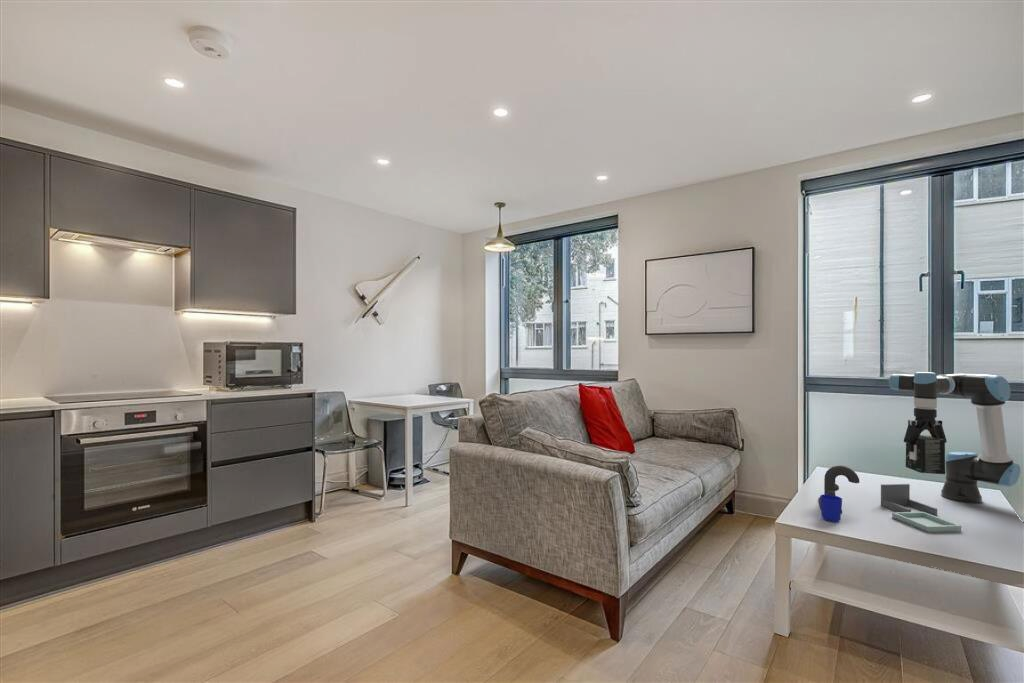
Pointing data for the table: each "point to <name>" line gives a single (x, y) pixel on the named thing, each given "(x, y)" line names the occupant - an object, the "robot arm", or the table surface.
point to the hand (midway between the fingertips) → (925, 459)
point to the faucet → (831, 476)
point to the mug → (831, 507)
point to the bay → (901, 499)
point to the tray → (926, 522)
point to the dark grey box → (928, 455)
